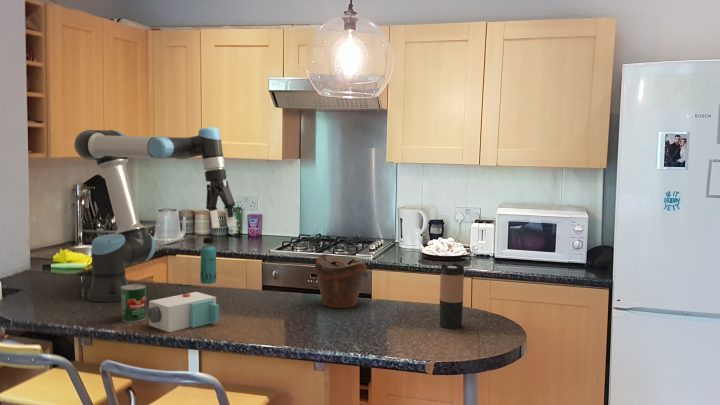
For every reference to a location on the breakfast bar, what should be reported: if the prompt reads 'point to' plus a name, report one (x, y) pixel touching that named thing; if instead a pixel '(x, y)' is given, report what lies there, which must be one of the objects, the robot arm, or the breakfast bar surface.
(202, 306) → the door
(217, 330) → the breakfast bar surface
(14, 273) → the breakfast bar surface
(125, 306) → the canned tomato
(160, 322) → the block
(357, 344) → the breakfast bar surface
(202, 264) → the beverage bottle
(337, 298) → the brown tapered cylinder
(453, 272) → the travel mug
